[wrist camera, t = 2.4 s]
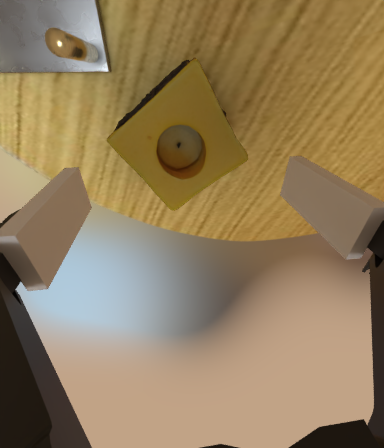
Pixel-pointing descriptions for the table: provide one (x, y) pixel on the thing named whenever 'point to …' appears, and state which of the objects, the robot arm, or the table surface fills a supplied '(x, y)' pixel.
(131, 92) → the table surface
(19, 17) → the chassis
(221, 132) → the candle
